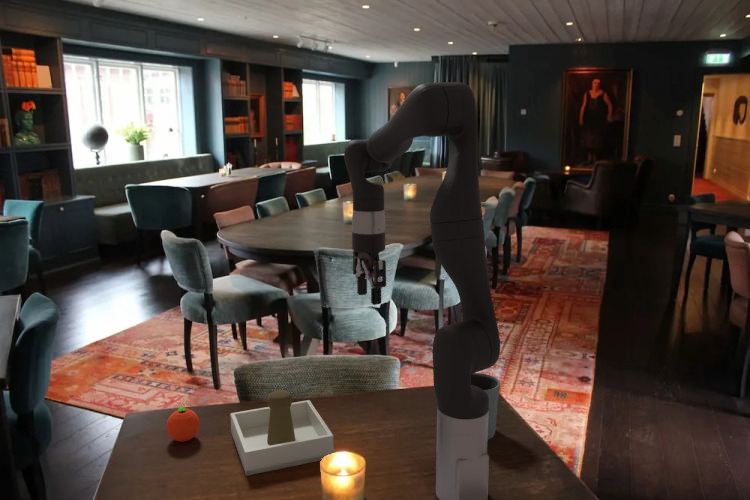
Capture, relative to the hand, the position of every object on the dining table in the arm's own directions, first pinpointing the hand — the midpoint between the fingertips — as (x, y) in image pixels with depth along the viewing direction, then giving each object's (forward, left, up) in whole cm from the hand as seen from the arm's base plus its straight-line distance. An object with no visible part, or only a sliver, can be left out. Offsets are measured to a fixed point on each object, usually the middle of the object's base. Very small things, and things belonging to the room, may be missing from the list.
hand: (368, 299), depth 144 cm
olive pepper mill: (-8, +23, -27) cm, 36 cm away
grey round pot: (-18, -19, -28) cm, 38 cm away
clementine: (+3, +42, -28) cm, 51 cm away
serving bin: (-8, +23, -28) cm, 37 cm away
